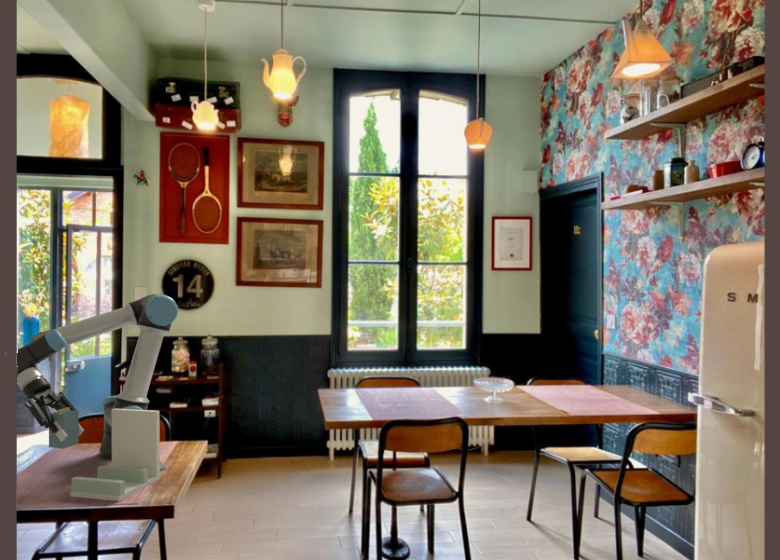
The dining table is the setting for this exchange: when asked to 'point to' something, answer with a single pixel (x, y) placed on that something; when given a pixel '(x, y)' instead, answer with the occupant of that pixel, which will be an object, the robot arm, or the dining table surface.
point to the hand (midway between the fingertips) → (72, 435)
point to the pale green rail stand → (126, 458)
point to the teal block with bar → (65, 428)
